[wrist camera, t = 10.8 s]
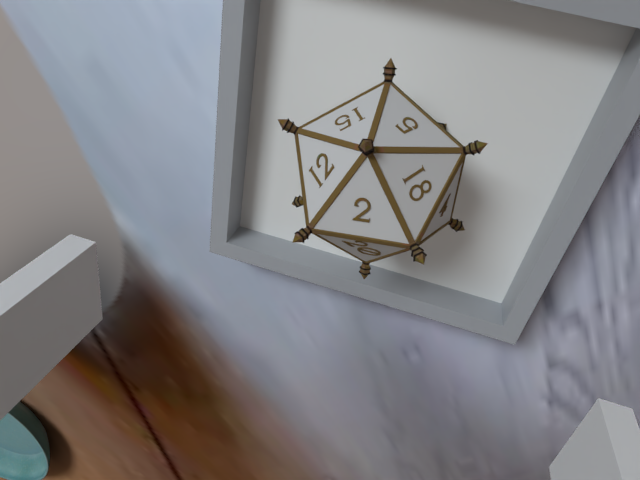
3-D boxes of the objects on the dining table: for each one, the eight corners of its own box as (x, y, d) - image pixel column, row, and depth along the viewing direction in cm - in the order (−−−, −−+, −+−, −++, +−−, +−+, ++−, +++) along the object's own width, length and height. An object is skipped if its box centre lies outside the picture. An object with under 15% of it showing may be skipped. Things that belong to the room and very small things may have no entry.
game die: (432, 132, 28) (530, 269, 22) (300, 200, 29) (358, 350, 23) (395, -11, 21) (525, 132, 15) (222, 86, 22) (275, 258, 16)
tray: (511, 310, 29) (514, 344, 27) (230, 227, 32) (209, 251, 29) (669, -1, 20) (697, 8, 17) (255, -86, 22) (227, -90, 20)
